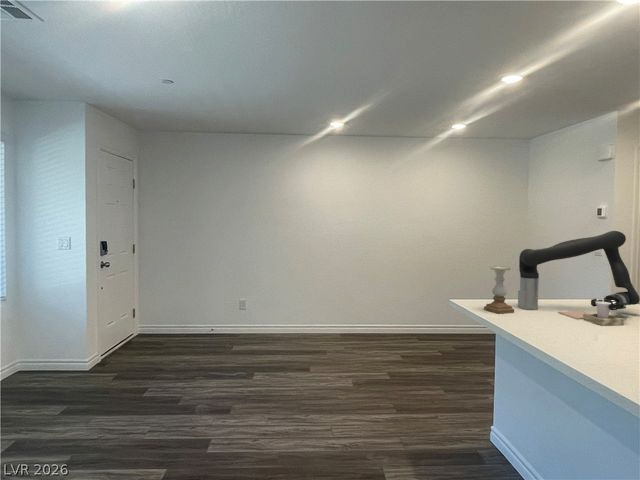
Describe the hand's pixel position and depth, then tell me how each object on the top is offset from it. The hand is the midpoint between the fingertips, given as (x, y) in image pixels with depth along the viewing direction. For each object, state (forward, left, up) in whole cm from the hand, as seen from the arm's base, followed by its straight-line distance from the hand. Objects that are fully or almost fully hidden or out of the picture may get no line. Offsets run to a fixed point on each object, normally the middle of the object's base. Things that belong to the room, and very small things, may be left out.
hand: (601, 305), depth 195 cm
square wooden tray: (+2, +1, -9) cm, 9 cm away
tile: (+1, +15, -9) cm, 17 cm away
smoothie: (+2, +1, -9) cm, 9 cm away
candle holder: (-35, +29, -9) cm, 46 cm away
